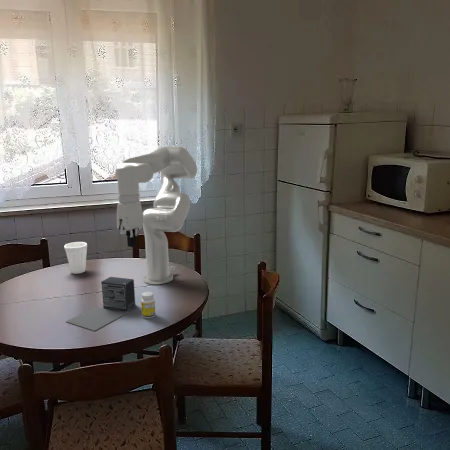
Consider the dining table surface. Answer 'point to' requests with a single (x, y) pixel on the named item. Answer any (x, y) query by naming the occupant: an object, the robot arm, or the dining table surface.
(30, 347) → the dining table surface
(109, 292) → the small box
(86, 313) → the mat
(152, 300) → the supplement bottle
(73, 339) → the dining table surface
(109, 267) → the dining table surface
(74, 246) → the cup
